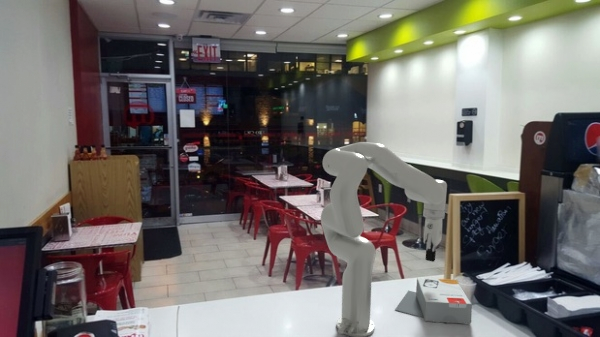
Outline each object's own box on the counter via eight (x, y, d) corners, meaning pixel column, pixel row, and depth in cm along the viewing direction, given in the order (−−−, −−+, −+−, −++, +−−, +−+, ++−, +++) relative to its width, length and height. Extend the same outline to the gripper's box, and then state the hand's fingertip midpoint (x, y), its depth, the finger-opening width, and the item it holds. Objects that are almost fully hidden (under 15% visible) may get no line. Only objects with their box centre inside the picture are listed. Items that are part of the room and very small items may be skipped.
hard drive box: (457, 278, 156) (473, 303, 136) (456, 297, 157) (472, 324, 137) (416, 277, 157) (426, 301, 138) (415, 295, 159) (425, 322, 139)
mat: (446, 324, 138) (446, 323, 138) (394, 310, 147) (394, 309, 147) (455, 302, 154) (455, 301, 154) (408, 291, 162) (408, 290, 162)
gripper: (440, 218, 141) (436, 268, 143) (448, 210, 154) (444, 256, 156) (418, 215, 145) (415, 264, 147) (428, 207, 157) (424, 252, 160)
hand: (430, 260), depth 152 cm, fingers closed
